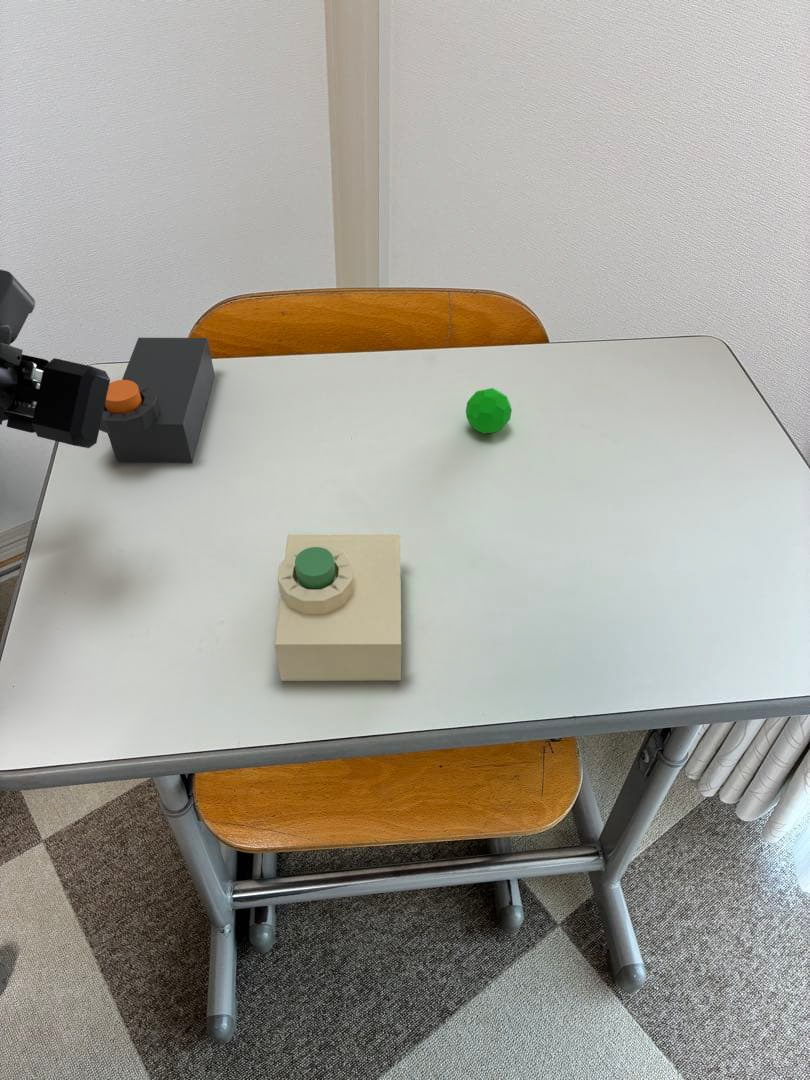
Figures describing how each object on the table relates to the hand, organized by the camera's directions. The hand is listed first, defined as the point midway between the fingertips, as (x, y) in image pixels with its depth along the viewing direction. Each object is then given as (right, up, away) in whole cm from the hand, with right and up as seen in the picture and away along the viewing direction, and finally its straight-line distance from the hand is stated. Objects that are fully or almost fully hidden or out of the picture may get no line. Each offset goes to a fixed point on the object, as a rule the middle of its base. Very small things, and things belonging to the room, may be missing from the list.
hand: (60, 402), depth 71 cm
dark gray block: (+3, +1, +18) cm, 19 cm away
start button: (+2, +2, +10) cm, 10 cm away
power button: (+24, -15, -6) cm, 29 cm away
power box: (+25, -20, -1) cm, 32 cm away
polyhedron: (+40, 0, +18) cm, 44 cm away
